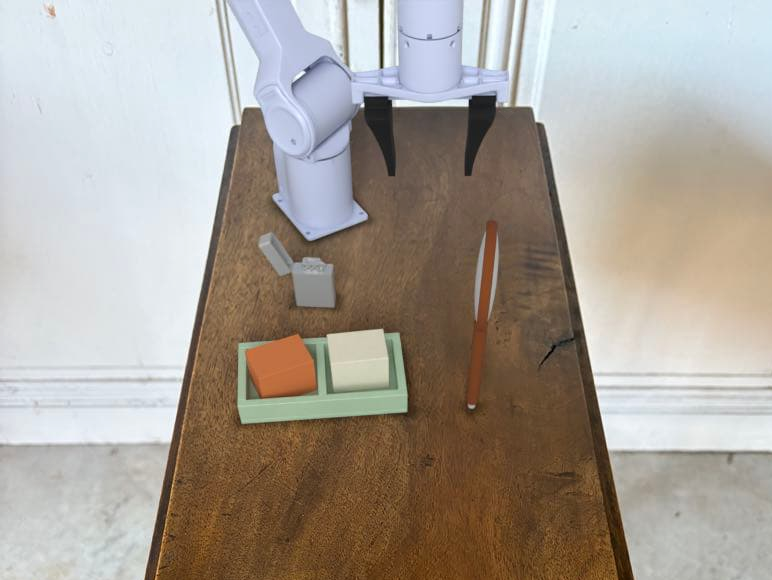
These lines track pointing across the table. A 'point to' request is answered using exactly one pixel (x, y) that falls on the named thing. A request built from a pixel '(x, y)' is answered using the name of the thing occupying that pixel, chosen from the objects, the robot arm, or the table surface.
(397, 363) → the tray
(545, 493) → the table surface
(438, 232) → the table surface
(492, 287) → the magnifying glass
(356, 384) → the cream rectangular block
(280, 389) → the orange block
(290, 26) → the robot arm
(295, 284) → the lighter
